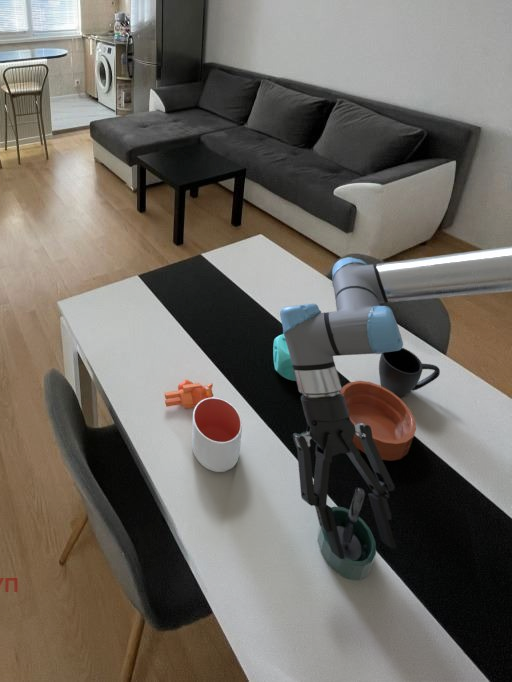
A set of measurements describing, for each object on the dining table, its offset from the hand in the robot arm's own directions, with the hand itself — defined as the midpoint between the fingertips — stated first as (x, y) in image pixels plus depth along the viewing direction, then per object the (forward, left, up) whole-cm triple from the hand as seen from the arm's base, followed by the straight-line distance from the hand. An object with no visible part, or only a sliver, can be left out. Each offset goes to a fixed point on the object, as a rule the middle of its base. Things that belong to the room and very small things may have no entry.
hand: (363, 549), depth 70 cm
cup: (+27, -10, -8) cm, 30 cm away
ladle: (+2, -3, -7) cm, 8 cm away
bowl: (-3, -30, -8) cm, 31 cm away
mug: (-10, -44, -8) cm, 46 cm away
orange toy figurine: (+36, -19, -8) cm, 41 cm away
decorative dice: (+15, -39, -8) cm, 42 cm away
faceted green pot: (+2, -3, -8) cm, 8 cm away
